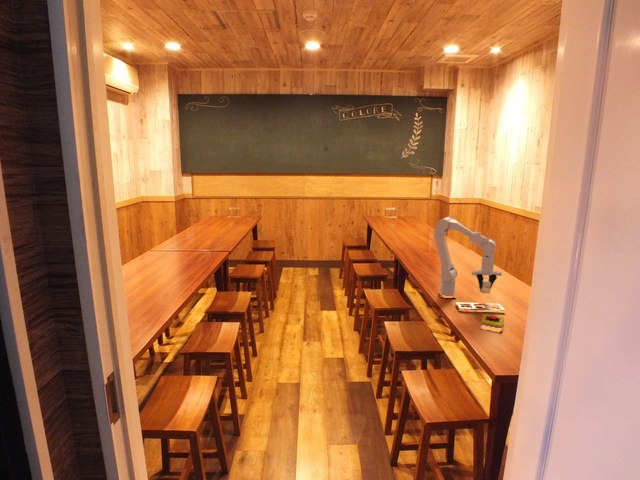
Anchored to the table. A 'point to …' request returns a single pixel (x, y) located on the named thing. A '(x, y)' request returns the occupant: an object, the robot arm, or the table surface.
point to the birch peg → (485, 286)
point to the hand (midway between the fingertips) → (485, 288)
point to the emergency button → (492, 321)
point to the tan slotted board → (479, 308)
